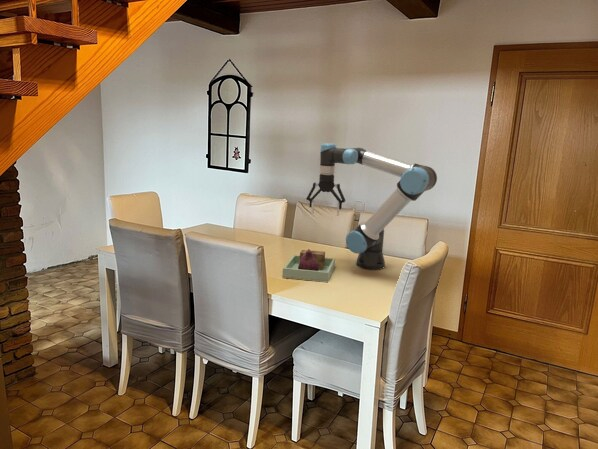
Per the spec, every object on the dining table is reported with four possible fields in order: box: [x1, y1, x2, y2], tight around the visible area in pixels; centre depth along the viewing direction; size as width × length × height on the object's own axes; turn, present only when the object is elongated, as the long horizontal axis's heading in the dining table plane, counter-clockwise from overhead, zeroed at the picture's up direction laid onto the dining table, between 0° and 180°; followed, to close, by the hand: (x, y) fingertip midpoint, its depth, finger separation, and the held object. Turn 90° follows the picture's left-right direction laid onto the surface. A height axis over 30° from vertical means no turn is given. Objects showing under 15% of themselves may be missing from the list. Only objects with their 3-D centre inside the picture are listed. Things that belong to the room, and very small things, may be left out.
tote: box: [282, 254, 336, 284], centre depth 230 cm, size 22×24×5 cm
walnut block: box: [299, 249, 326, 270], centre depth 236 cm, size 12×6×8 cm, turn 78°
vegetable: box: [298, 248, 319, 271], centre depth 224 cm, size 10×10×15 cm
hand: (325, 214), depth 241 cm, fingers open, 13 cm apart
